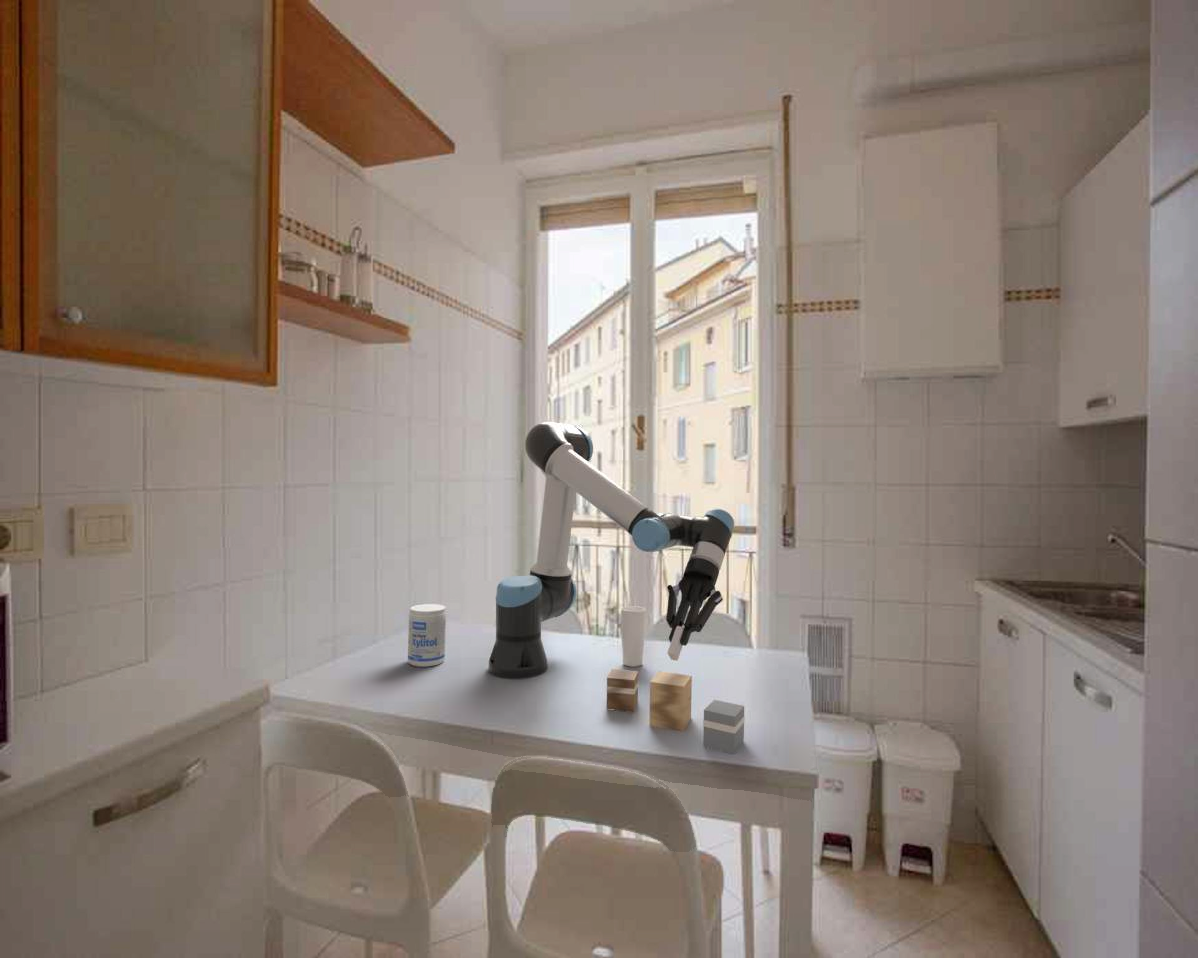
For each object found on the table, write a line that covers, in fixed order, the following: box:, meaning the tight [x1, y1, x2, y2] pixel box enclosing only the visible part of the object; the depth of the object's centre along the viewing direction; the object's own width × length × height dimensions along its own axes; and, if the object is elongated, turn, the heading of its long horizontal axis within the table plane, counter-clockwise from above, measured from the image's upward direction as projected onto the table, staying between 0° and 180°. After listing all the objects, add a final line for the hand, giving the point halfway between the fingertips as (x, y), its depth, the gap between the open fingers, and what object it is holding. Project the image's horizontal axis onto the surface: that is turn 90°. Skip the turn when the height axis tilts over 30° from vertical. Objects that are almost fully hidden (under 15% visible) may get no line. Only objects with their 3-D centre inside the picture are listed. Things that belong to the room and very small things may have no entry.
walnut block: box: [606, 668, 639, 713], centre depth 132 cm, size 6×6×7 cm
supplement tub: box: [407, 603, 447, 668], centre depth 160 cm, size 10×10×15 cm
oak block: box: [649, 671, 693, 732], centre depth 124 cm, size 7×7×9 cm
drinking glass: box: [620, 605, 647, 668], centre depth 161 cm, size 7×7×15 cm
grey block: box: [702, 699, 745, 755], centre depth 114 cm, size 6×6×7 cm
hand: (672, 656), depth 124 cm, fingers closed
